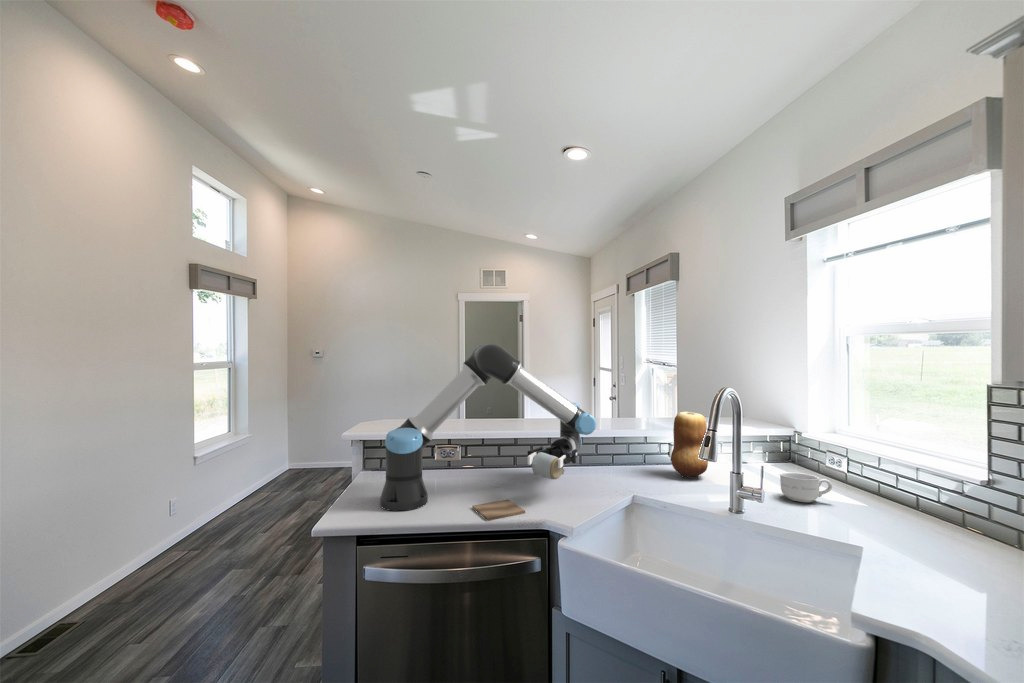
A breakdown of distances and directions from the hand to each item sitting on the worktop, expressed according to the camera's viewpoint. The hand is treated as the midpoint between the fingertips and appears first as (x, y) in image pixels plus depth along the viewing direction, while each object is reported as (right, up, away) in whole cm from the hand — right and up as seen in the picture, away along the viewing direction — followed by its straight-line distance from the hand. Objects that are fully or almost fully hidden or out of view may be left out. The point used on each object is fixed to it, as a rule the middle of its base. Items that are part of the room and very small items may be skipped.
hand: (543, 462), depth 137 cm
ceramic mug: (+2, -6, +5) cm, 9 cm away
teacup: (+85, -13, +2) cm, 86 cm away
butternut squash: (+59, -14, +30) cm, 68 cm away
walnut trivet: (-14, -14, -5) cm, 20 cm away
